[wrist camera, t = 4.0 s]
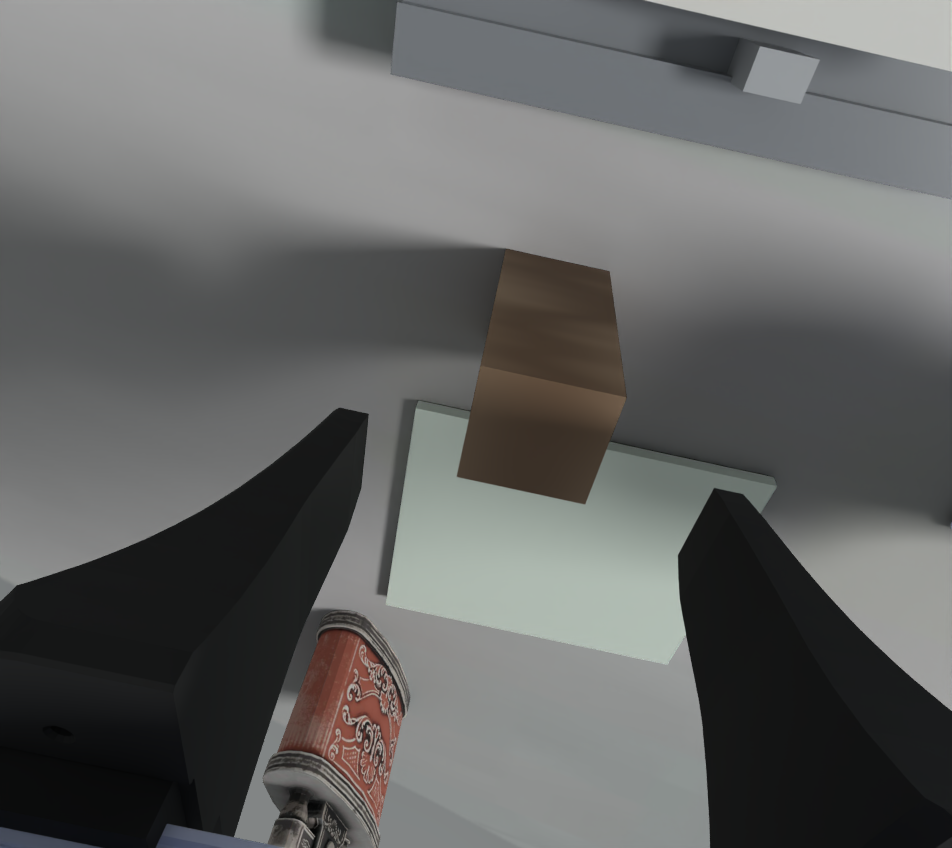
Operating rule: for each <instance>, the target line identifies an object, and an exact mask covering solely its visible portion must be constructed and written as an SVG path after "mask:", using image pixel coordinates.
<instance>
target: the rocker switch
mask: <svg viewBox="0 0 952 848" xmlns="http://www.w3.org/2000/svg"><path fill="white" fill-rule="evenodd" d="M645 1H649V2H654V3H658V4H662V5H667V6H671V7H675V8H680V9H684V10H688V11H693V12H697V13H701V14H706V15H710V16H714V17H718V18H723V19H727V20H731V21H736V22H740V23H744V24H749V25H753V26H757V27H762V28H766V29H770V30H775V31H779V32H783V33H788V34H792V35H796V36H800V37H805V38H809V39H813V40H818V41H822V42H826V43H831V44H835V45H839V46H844V47H848V48H852V49H857V50H861V51H865V52H870V53H874V54H878V55H882V56H887V57H891V58H895V59H900V60H904V61H908V62H913V63H917V64H921V65H926V66H930V67H934V68H939V69H943V70H947V71H951V72H952V0H645Z"/></svg>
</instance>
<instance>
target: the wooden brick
mask: <svg viewBox="0 0 952 848" xmlns="http://www.w3.org/2000/svg"><path fill="white" fill-rule="evenodd" d="M626 398H627V396H626V389H625V381H624V374H623V367H622V359H621V352H620V345H619V337H618V330H617V323H616V315H615V308H614V301H613V293H612V286H611V279H610V271H605V270H601V269H596V268H591V267H587V266H582V265H578V264H573V263H569V262H564V261H560V260H555V259H551V258H546V257H541V256H537V255H532V254H528V253H523V252H519V251H514V250H510V249H506V251H505V255H504V260H503V264H502V269H501V274H500V278H499V283H498V287H497V292H496V297H495V301H494V306H493V310H492V315H491V320H490V324H489V329H488V333H487V338H486V343H485V347H484V352H483V356H482V361H481V366H480V370H479V375H478V380H477V384H476V389H475V393H474V398H473V403H472V407H471V412H470V417H469V421H468V426H467V430H466V435H465V440H464V444H463V449H462V454H461V458H460V463H459V467H458V472H457V477H459V478H464V479H469V480H473V481H478V482H482V483H487V484H492V485H496V486H501V487H506V488H510V489H515V490H520V491H524V492H529V493H534V494H538V495H543V496H547V497H552V498H557V499H561V500H566V501H571V502H575V503H580V504H586V501H587V499H588V496H589V493H590V491H591V488H592V486H593V483H594V481H595V478H596V475H597V473H598V470H599V468H600V465H601V463H602V460H603V457H604V455H605V452H606V450H607V447H608V444H609V442H610V439H611V437H612V434H613V432H614V429H615V426H616V424H617V421H618V419H619V416H620V413H621V411H622V408H623V406H624V403H625V401H626Z"/></svg>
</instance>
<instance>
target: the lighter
mask: <svg viewBox="0 0 952 848" xmlns="http://www.w3.org/2000/svg"><path fill="white" fill-rule="evenodd" d="M316 641H317V646H316V649H315V651H314V654H313V657H312V660H311V662H310V665H309V668H308V670H307V673H306V676H305V679H304V681H303V684H302V687H301V689H300V692H299V695H298V698H297V700H296V703H295V706H294V708H293V711H292V714H291V717H290V719H289V722H288V725H287V727H286V731H285V733H284V736H283V738H282V741H281V744H280V746H279V749H278V752H277V753H276V754H273V755H272V757H271V758H270V760H269V762H268V765H267V767H266V770H265V773H264V775H263V783H264V785H265V787H266V789H267V791H268V793H269V795H270V797H271V799H272V801H273V803H274V804H275V805H276V807H277V808H278V809H279V811H280V815H279V818H278V819H277V820H276V821H275V824H274V827H273V829H272V832H271V836H270V838H269V841H268V844H269V845H274V846H279V847H284V848H378V846H379V842H380V833H379V830H378V826H379V821H380V817H381V812H382V808H383V803H384V798H385V794H386V789H387V784H388V780H389V776H390V771H391V767H392V762H393V758H394V753H395V748H396V744H397V739H398V735H399V730H400V726H401V721H402V720H403V719H404V718H405V717H406V716H407V711H408V706H409V702H410V692H409V687H408V683H407V679H406V676H405V674H404V671H403V669H402V666H401V664H400V661H399V659H398V658H397V656H396V654H395V653H394V651H393V650H392V648H391V646H390V645H389V643H388V642H387V640H386V639H385V638H384V636H383V635H382V634H381V633H380V632H379V630H378V629H377V628H376V627H375V625H374V624H373V623H372V622H371V621H370V620H369V619H368V618H367V617H366V616H363V615H361V614H359V613H356V612H352V611H343V610H339V611H334V612H330V613H328V614H326V615H325V616H324V617H323V619H322V621H321V623H320V626H319V629H318V631H317V634H316Z"/></svg>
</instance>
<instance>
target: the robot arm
mask: <svg viewBox="0 0 952 848" xmlns="http://www.w3.org/2000/svg"><path fill="white" fill-rule="evenodd" d="M368 415H369V414H367V413H362V412H357V411H352V410H348V409H343V408H338V409H336V410H335V411H333V412H332V413H331V414H330V415H329V416H328V417H327V418H326V419H325V420H323V421H322V422H321V423H320V424H319V425H318V426H317V427H316V428H315V429H314V430H312V431H311V432H310V433H309V434H308V435H307V436H306V437H304V438H303V439H302V440H301V441H300V442H299V443H297V444H296V445H295V446H294V447H292V448H291V449H290V450H289V451H288V452H286V453H285V454H284V455H283V456H281V457H280V458H279V459H278V460H276V461H275V462H274V463H273V464H271V465H270V466H269V467H267V468H266V469H264V470H263V471H262V472H260V473H259V474H257V475H256V476H255V477H253V478H252V479H250V480H249V481H248V482H246V483H245V484H243V485H242V486H241V487H239V488H238V489H236V490H235V491H233V492H231V493H230V494H228V495H227V496H225V497H224V498H222V499H220V500H219V501H217V502H215V503H214V504H212V505H210V506H209V507H207V508H205V509H204V510H202V511H200V512H198V513H197V514H195V515H193V516H191V517H189V518H187V519H185V520H183V521H181V522H180V523H178V524H176V525H174V526H172V527H170V528H168V529H166V530H164V531H162V532H160V533H158V534H156V535H154V536H151V537H149V538H147V539H145V540H143V541H140V542H138V543H136V544H133V545H131V546H129V547H126V548H124V549H121V550H119V551H116V552H114V553H111V554H109V555H106V556H104V557H101V558H99V559H96V560H93V561H90V562H88V563H85V564H82V565H79V566H76V567H73V568H70V569H67V570H64V571H61V572H58V573H55V574H52V575H49V576H46V577H43V578H40V579H37V580H34V581H31V582H27V583H24V584H20V585H17V586H16V587H15V588H14V589H13V590H12V591H11V592H10V593H9V594H8V595H7V596H6V597H5V598H4V599H3V600H2V601H0V848H284V847H279V846H274V845H269V844H264V843H260V842H254V841H249V840H244V839H240V838H235V837H234V835H235V831H236V828H237V825H238V822H239V819H240V815H241V812H242V809H243V805H244V802H245V799H246V795H247V792H248V789H249V786H250V782H251V780H252V776H253V773H254V770H255V767H256V764H257V761H258V757H259V754H260V752H261V748H262V745H263V742H264V739H265V736H266V733H267V730H268V727H269V724H270V721H271V718H272V715H273V712H274V709H275V706H276V703H277V700H278V697H279V694H280V691H281V688H282V685H283V682H284V679H285V676H286V673H287V670H288V667H289V665H290V662H291V659H292V656H293V653H294V650H295V647H296V644H297V641H298V639H299V636H300V634H301V631H302V629H303V627H304V624H305V622H306V619H307V617H308V615H309V613H310V611H311V608H312V606H313V604H314V602H315V600H316V598H317V596H318V593H319V591H320V589H321V587H322V585H323V583H324V581H325V578H326V576H327V574H328V572H329V570H330V568H331V565H332V563H333V561H334V559H335V557H336V555H337V552H338V550H339V548H340V546H341V544H342V542H343V539H344V537H345V535H346V533H347V530H348V528H349V525H350V522H351V519H352V516H353V512H354V509H355V506H356V503H357V500H358V497H359V493H360V490H361V485H362V475H363V465H364V455H365V445H366V435H367V425H368ZM951 529H952V523H951ZM678 580H679V596H680V604H681V610H682V615H683V621H684V626H685V631H686V637H687V642H688V647H689V652H690V657H691V662H692V667H693V672H694V677H695V683H696V688H697V693H698V698H699V704H700V710H701V717H702V724H703V736H704V747H705V759H706V771H707V788H708V804H709V822H710V848H952V711H951V710H950V709H948V708H947V707H946V706H945V705H943V704H942V703H941V702H940V701H939V700H937V699H936V698H935V697H934V696H933V695H931V694H930V693H929V692H928V691H927V690H925V689H924V688H923V687H922V686H921V685H919V684H918V683H917V682H916V681H915V680H914V679H912V678H911V677H910V676H909V675H908V674H907V673H906V672H904V671H903V670H902V669H901V668H900V667H899V666H898V665H897V664H895V663H894V662H893V661H892V660H891V659H890V658H889V657H888V656H887V655H886V654H885V653H884V652H883V651H882V650H881V649H880V648H879V647H878V646H876V645H875V644H874V643H873V642H872V641H871V640H870V639H869V638H868V637H867V636H866V635H865V634H864V633H863V632H862V631H861V630H860V629H859V628H858V627H857V626H856V625H855V624H854V623H853V622H852V621H851V620H850V619H849V618H848V617H847V616H846V614H845V613H844V612H843V611H842V610H841V609H840V608H839V607H838V606H837V605H836V604H835V603H834V601H833V600H832V599H831V598H830V597H829V596H828V595H827V594H826V593H825V592H824V590H823V589H822V588H821V587H820V586H819V585H818V584H817V582H816V581H815V580H814V579H813V578H812V577H811V575H810V574H809V573H808V572H807V571H806V570H805V568H804V567H803V566H802V565H801V564H800V562H799V561H798V560H797V559H796V558H795V556H794V555H793V554H792V553H791V551H790V550H789V549H788V548H787V547H786V545H785V544H784V543H783V542H782V540H781V539H780V538H779V537H778V535H777V534H776V533H775V532H774V530H773V529H772V528H771V527H770V525H769V524H768V523H767V522H766V520H765V519H764V518H763V517H762V515H761V514H760V513H759V512H758V511H757V509H756V508H755V507H754V506H753V505H752V503H751V502H750V501H749V500H748V499H747V498H746V497H745V495H744V494H741V493H736V492H731V491H726V490H722V489H717V488H714V489H713V491H712V493H711V495H710V496H709V498H708V500H707V502H706V504H705V506H704V507H703V509H702V511H701V513H700V515H699V517H698V519H697V520H696V522H695V524H694V526H693V528H692V530H691V532H690V533H689V535H688V537H687V539H686V541H685V543H684V545H683V546H682V548H681V550H680V552H679V554H678Z"/></svg>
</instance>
